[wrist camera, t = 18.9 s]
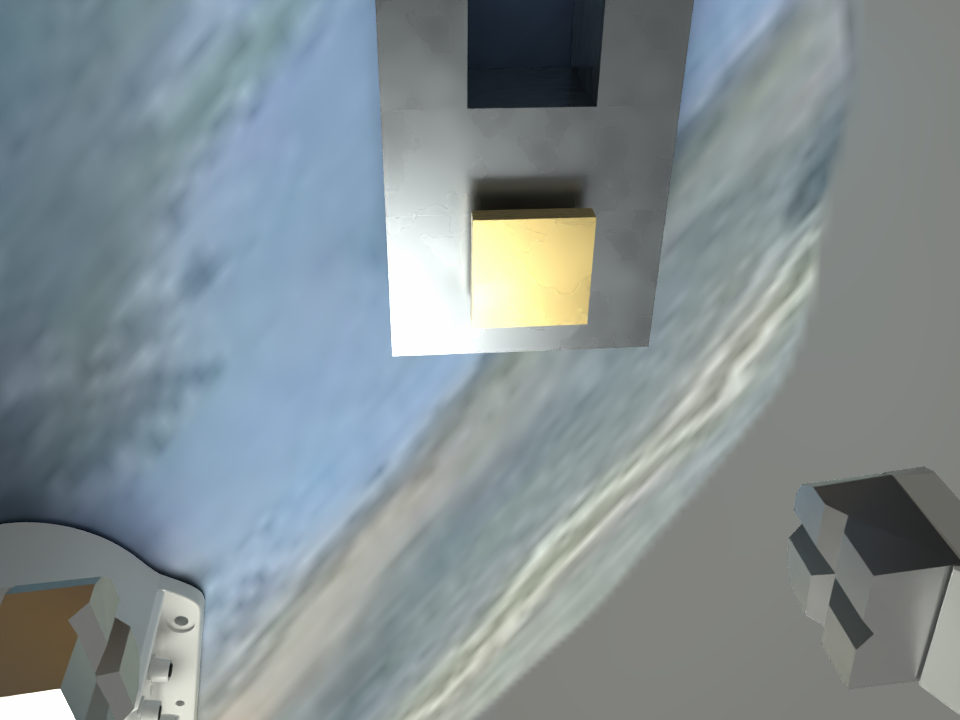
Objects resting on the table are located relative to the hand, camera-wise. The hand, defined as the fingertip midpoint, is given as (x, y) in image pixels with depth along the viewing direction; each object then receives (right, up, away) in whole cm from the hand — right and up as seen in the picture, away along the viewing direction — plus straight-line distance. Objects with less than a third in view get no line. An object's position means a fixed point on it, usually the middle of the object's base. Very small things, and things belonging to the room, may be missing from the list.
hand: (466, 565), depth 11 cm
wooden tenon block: (+2, +10, +33) cm, 35 cm away
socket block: (+2, +15, +31) cm, 34 cm away
